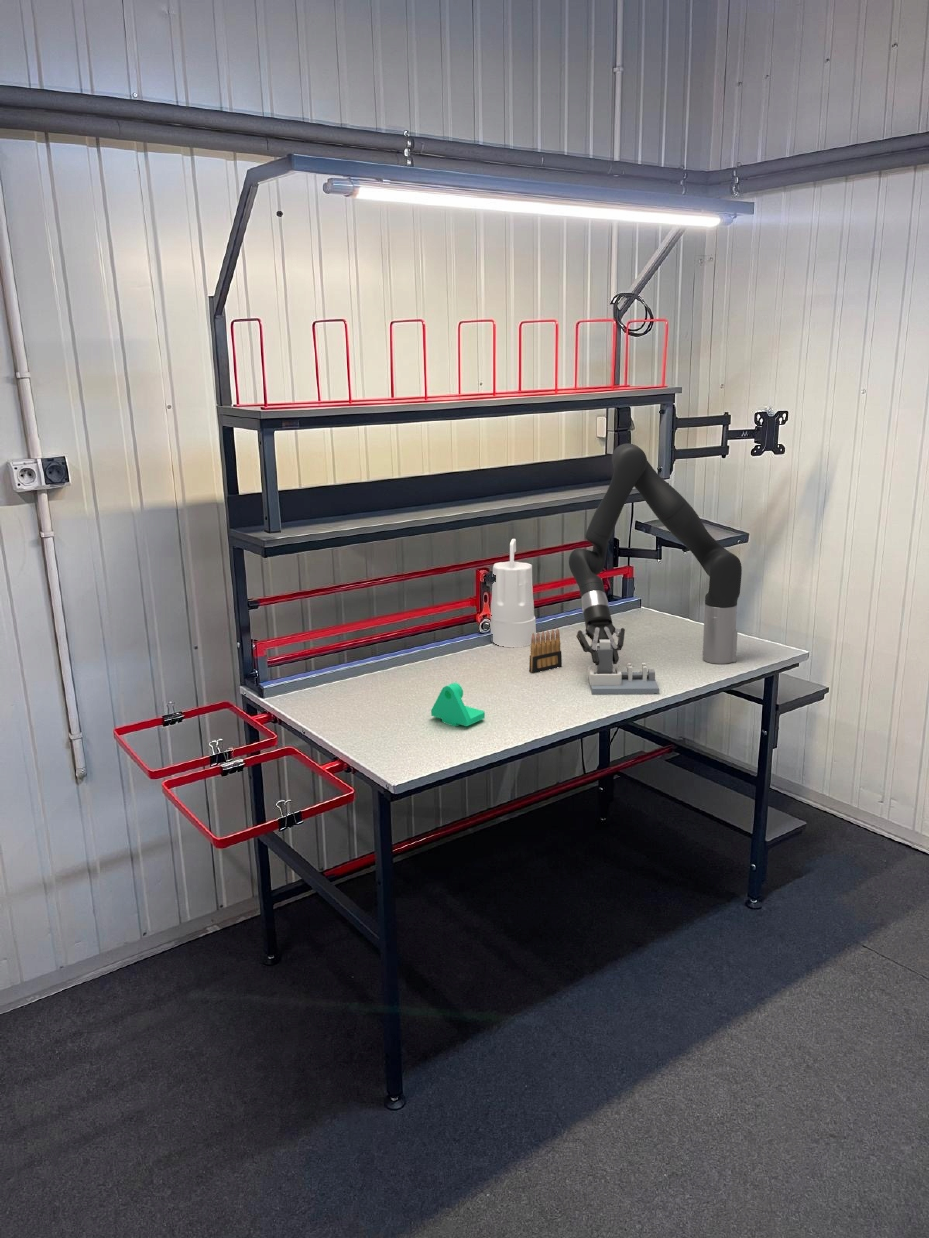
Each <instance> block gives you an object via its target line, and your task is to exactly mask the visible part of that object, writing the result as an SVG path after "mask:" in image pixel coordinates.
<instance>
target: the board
mask: <svg viewBox="0 0 929 1238" xmlns="http://www.w3.org/2000/svg"><path fill="white" fill-rule="evenodd" d="M626 665H627V667H626V672H625V671H624V672H623V671H621V669H620V665H615V666H614V667H615V668H614V670H615V671H614V672H613V674H597V671H596V672H594V668H593V666H592V665H588V673H587V675H588V682H589V687H590V691H591V695H644V694H643V693H646V694H645V695H655V694H654V693H659V694H660V687H659V685H658V683H657V680H656V672H655V669H654V668H648V667H647V664H646V662H642V663H641V671H633V666H632V663H630V662H629V663H627V664H626ZM636 693H637V694H636ZM647 693H648V694H647Z"/></svg>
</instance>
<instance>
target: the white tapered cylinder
mask: <svg viewBox="0 0 929 1238" xmlns="http://www.w3.org/2000/svg"><path fill="white" fill-rule="evenodd" d="M516 552H517V540H516V538H512V539H511V541H510V543H509V560H508V561H500V562H495V563H494V564H493V566H492V575H493V574H494V575H496V582H494V583H493V584H492V583H491V585H492V586H491V589H492V590H491V601H490V602H491V603H490V634H491V633H493V642H494V643H495V644H497V645H499V646H498V647H502V646H504V648H513V647H514V648H522V647H523V648H524V647H528V646H531V645H530V644H531V638H532V634H533V633H534V635H535V643H536V636H537V629H536V628H537V625H536V616H535V603H534V594H533V593H534V592H533V590H534V589H533V564H530V563H529V562H521V561H515V553H516ZM491 615H492V616H491ZM495 644H494V645H495ZM497 645H496V646H497Z"/></svg>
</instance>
